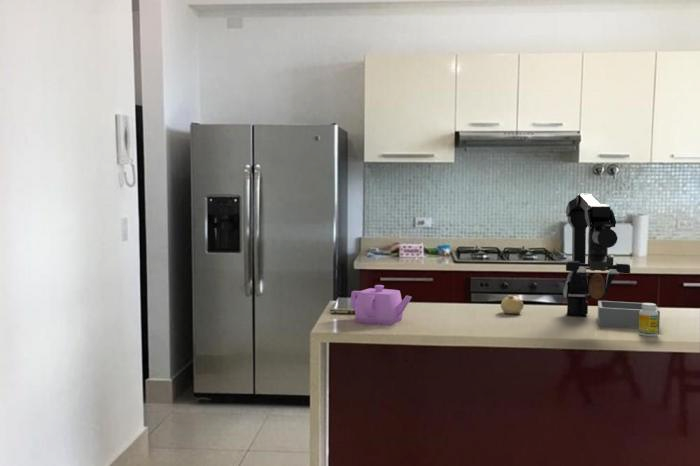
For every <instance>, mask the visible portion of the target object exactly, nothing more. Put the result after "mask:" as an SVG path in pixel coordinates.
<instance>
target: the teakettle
mask: <svg viewBox="0 0 700 466" xmlns="http://www.w3.org/2000/svg"><path fill="white" fill-rule="evenodd" d="M384 287H385V285H382V284H375V285H374V288H372V287H370V288H366V289H363V290H352V291H351V296H350V304H349V307H350V308H351V309H353V310H354V311H355V312H354V316H355V317H354V318H355V321H356V322H357V323H359V322H362V323H361V324H367V323H370V324H369V325H377V324H382V325H381V326H393V325H395V324H397V323H398V321H399V322H401V321H402V319H403V316H404V311H405V309H406V307H407V306H408V304H409V303H410V301H411V299H412V296H410V295H405V297H404V298H403V299H402V294H401V291H400V290H398V289H392V288H391V289H388V288H384ZM400 320H401V321H400ZM396 322H397V323H396ZM394 323H395V324H394ZM392 324H393V325H392Z"/></svg>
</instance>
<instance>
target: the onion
mask: <svg viewBox="0 0 700 466" xmlns="http://www.w3.org/2000/svg"><path fill="white" fill-rule="evenodd" d="M500 303H501V304H500V308H501V310H502V311H503V313H505V314H516V315H517V314H520V313H521V312H522V311H523V309H524V302H523V300H522V299H521V298H520V297H519V296H516V295H510V294H507V296H505V297H504V298H503V299H502V300H501V302H500Z"/></svg>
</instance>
